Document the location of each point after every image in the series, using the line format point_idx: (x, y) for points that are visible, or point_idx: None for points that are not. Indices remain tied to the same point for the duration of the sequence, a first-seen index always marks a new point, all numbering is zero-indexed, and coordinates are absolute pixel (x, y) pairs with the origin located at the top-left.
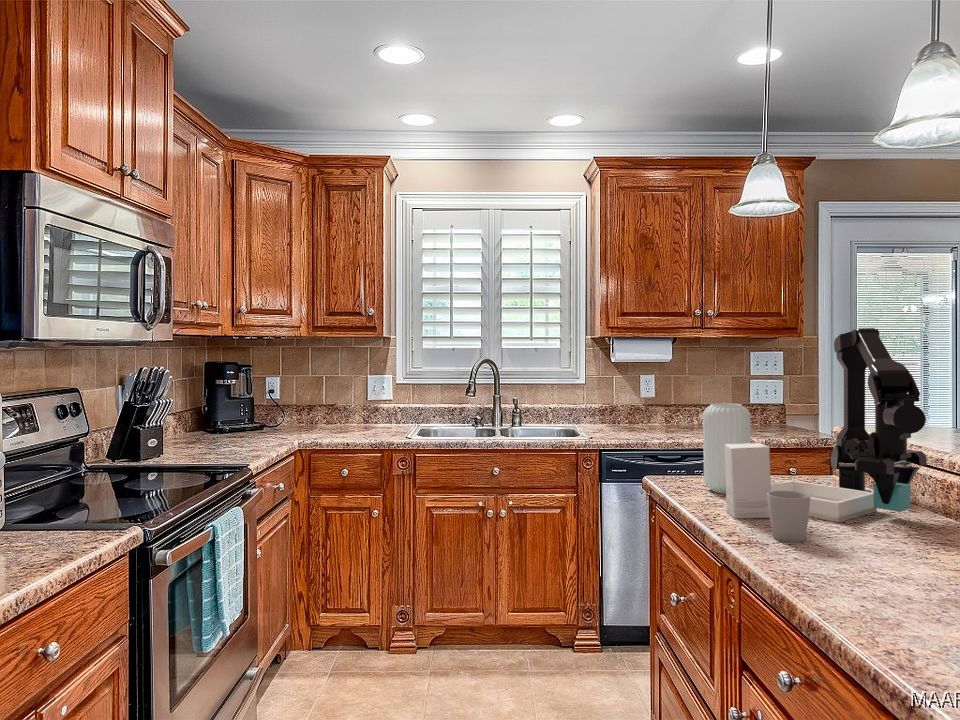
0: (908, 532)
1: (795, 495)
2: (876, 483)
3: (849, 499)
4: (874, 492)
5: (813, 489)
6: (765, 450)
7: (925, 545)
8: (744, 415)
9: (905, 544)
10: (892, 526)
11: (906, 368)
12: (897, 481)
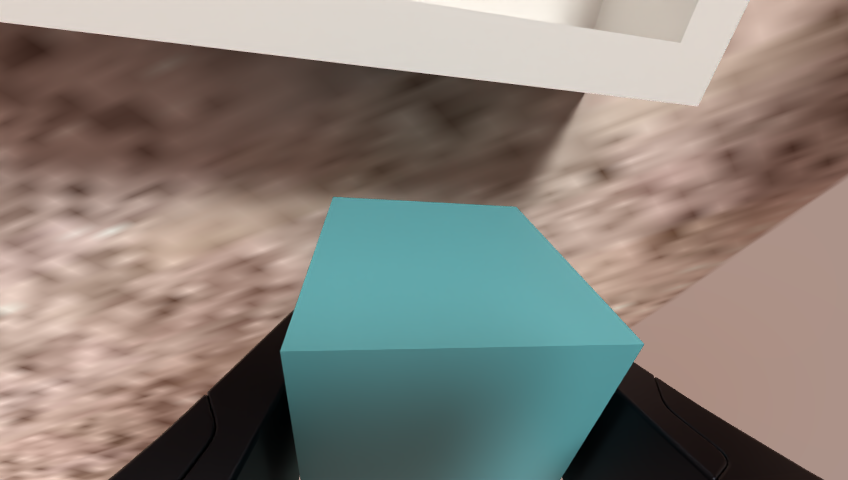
0: (214, 366)
1: None
2: (130, 474)
3: (85, 5)
4: (308, 277)
5: None
6: None
7: (84, 452)
8: None
9: (6, 425)
10: (258, 293)
11: None
12: (610, 447)
